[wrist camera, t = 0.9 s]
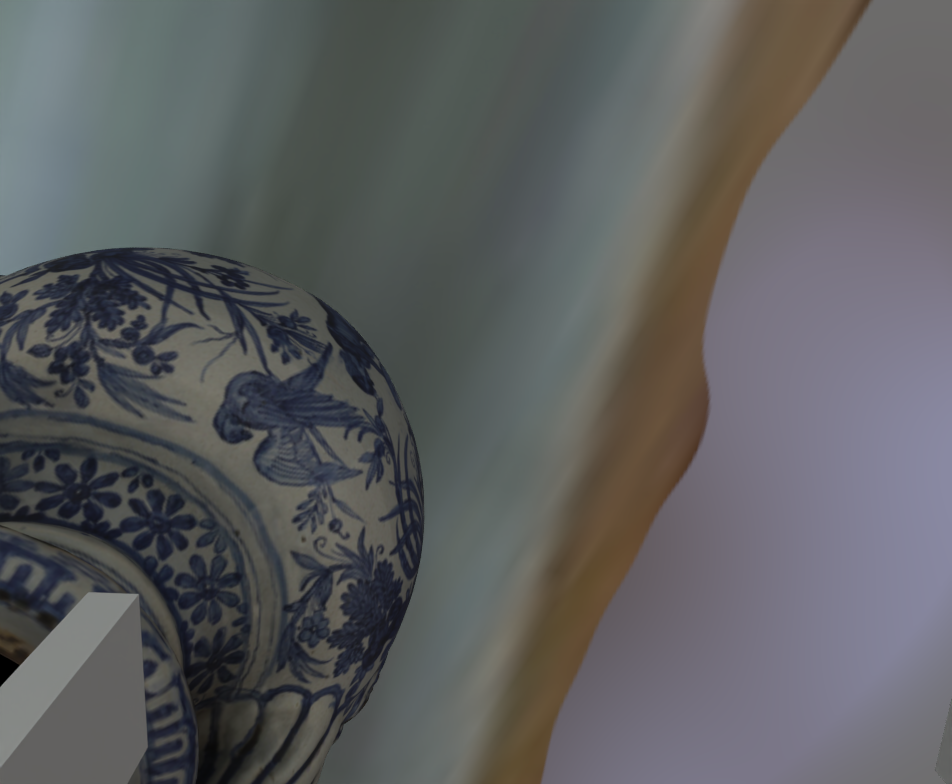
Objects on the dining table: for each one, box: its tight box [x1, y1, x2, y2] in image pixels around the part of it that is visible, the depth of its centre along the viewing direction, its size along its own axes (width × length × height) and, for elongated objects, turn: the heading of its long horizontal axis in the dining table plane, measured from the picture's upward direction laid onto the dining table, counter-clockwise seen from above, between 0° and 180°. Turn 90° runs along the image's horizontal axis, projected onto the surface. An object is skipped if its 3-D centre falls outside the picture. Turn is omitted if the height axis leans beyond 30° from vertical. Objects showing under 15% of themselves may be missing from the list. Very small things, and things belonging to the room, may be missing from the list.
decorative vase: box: [0, 248, 424, 784], centre depth 28 cm, size 21×19×28 cm
